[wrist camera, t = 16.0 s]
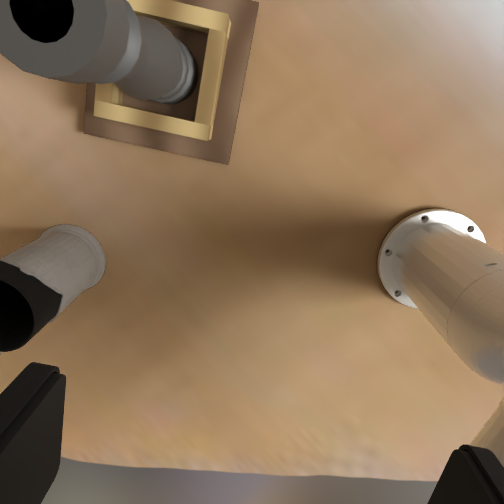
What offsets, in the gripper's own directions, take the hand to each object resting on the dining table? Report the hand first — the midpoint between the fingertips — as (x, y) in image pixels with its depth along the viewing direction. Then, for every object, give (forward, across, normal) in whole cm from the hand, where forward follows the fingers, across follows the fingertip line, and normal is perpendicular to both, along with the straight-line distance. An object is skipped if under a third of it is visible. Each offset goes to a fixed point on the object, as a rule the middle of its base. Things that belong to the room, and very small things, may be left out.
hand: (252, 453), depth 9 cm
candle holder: (+37, +12, -10) cm, 40 cm away
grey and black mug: (+38, +22, +16) cm, 47 cm away
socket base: (+38, +12, -10) cm, 41 cm away
